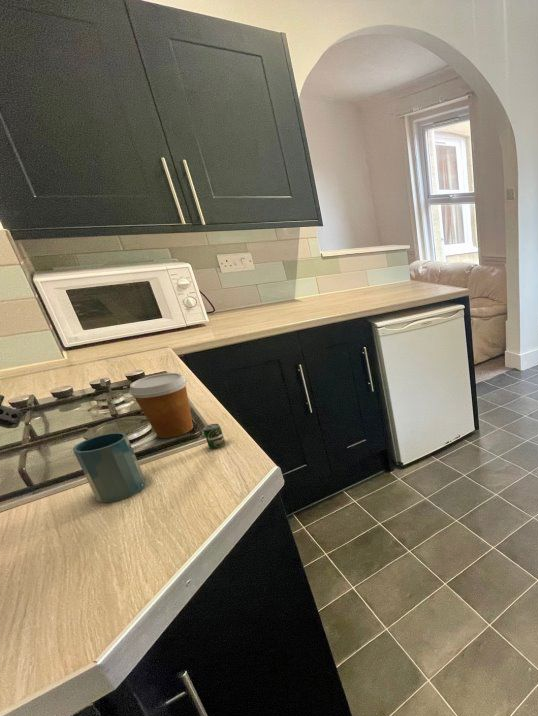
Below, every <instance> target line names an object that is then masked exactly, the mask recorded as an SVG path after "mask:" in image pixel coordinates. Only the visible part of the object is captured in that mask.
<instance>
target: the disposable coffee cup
mask: <svg viewBox="0 0 538 716" xmlns="http://www.w3.org/2000/svg"><path fill="white" fill-rule="evenodd" d="M187 382H188V380H187V378H185V377H184V376H183V374H182V373H180V372H168V373H166V372H165V373H160V374H159V373H158V374H154V375H149V376H146V377H142V378H140V379H137V380H135V381H133V382H132V383H130V384H129V391H128V394H129V395H131V397H133V398H134V399H135V401H136V402H137V404H138V406H139V408H140V409H141V411H142V413H143V414H144V416H145V417H146V419H147V422H148V423H149V425H150V426H151V428H152V430H153V431H154V433H155V434H156V436H157V438H160V439H168V438H169V439H170V438H175V437H180V436H182V435H184V434H186V433H189V432H191V431H192V430H193V428H194V425H193V419H192V415H191V414H192V413H191V407H190V402H189V396H188V390H187Z"/></svg>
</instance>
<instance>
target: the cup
mask: <svg viewBox="0 0 538 716" xmlns="http://www.w3.org/2000/svg"><path fill="white" fill-rule="evenodd" d="M72 451H73V454H74V455H75V457H76V460H77V462H78V464H79V466H80V468H81V470H82V473H83V474H84V476H85V479H86V480H87V482H88V484H89V486H90V488H91V491H92V492H93V495H94V497H95V499H96V501H97V502H99V503H104V504H105V503H106V504H107V503H114V502H118V501H121V500H125V499H127V498H130V497H131V496H134V495H136V494H138V493H139V492H141V491H142V490H143V489H144V488H145V487H146V486H147V480H146V477H145V475H144V473H143V470H142V468H141V466H140V464H139V463H140V462H139V461H138V459H137V456H136V454H135V452H134V450H133V447H132V444H131V442H130V440H129V438H128V435H127V433H126V432H120V431H119V432H110V433H109V432H108V433H104V434H100V435H97V436H93V437H90V438H87V439H86V440H83V441H81V442H79V443H77V444H76V445H75V446H73V448H72Z"/></svg>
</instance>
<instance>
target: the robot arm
mask: <svg viewBox="0 0 538 716" xmlns="http://www.w3.org/2000/svg"><path fill="white" fill-rule="evenodd" d="M4 399H5V395H3V394H0V427H1V428H4V429H16V428H19V426H20V423H21V421H22V418H23V412H22V411H21V410H18V409H15V408H12V407H10V406H5V405H3V402H4Z"/></svg>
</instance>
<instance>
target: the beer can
mask: <svg viewBox="0 0 538 716" xmlns="http://www.w3.org/2000/svg"><path fill="white" fill-rule="evenodd" d="M202 429H203V434H204V437H205V440H206V443H207V446H208V448H209V449H211V450H214V449H215V450H216V449H221V448H222V447H224V446H225V444H226V439H225V436H224V434H223V431H222V427H221V426H220V424H219V423H210V424H208V425H206V426H204V427H203V428H202Z"/></svg>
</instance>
